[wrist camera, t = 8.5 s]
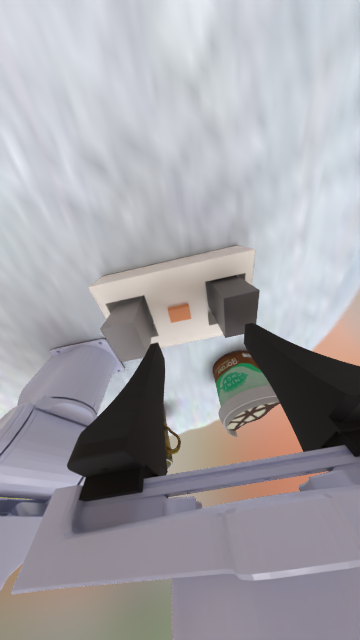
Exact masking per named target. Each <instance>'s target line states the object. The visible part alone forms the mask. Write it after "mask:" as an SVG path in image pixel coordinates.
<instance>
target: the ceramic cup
mask: <svg viewBox="0 0 360 640" xmlns="http://www.w3.org/2000/svg"><path fill="white" fill-rule="evenodd" d="M167 429H168V430H169V432H170V433H172V434H173V435H175V436H176V437H177V439H178V445H177V447H176V448H175V449H171V447H170V441H169V436H168V430H167ZM164 430H165V446H166V460H167V469H168V468H170V467H171V466H172V464H173V461H172V454H175V453H177V452H178V451H179V449H180V444H181V441H180V438H179V436H178V435H177V434H176V433H174V432H173V431H171V429H170V428H169V427H167V423H166V416H165V410H164Z"/></svg>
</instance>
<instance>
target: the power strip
mask: <svg viewBox="0 0 360 640" xmlns="http://www.w3.org/2000/svg"><path fill="white" fill-rule="evenodd" d="M254 256H255V249H251V248H247V247H243V246H238V245H237V246H233V247H228V248H224V249H220V250H215V251H211V252H206V253H202V254H198V255H193V256H189V257H185V258H180V259H176V260H171V261H167V262H163V263H158V264H154V265H150V266H145V267H141V268H136V269H132V270H128V271H123V272H119V273H115V274H110V275H106V276H102V277H101V278H99V279H98V280H97V281H95V282H94V283H93V284H91V285H90V286H89V287H88V289H89V290H90V292H91V294H92V296H93V297H94V299H95V301H96V302H97V304H98V306H99V308H100V309H101V311H102V313H103V315H104V316H105V318H106V320H107V318H108V317H109V315H110V314H111V312H112V311H113V309H114V307H115V306H116V304H117V303H118V301H120V300H125V299H129V298H134V297H138V296H143V295H144V296H145V299H146V302H147V304H148V307H149V310H150V313H151V315H152V318H153V321H154V322H153V330H152V337H151V344H152V343H157V342H158V343H159V346H160V348H163V347H168V346H173V345H178V344H183V343H187V342H192V341H197V340H202V339H207V338H212V337H217V336H222V335H224V334H223V333H222V331H221V329H220V327H219V325H218V323H217V321H216V320H215V318H214V316H213V314H212V312H211V310H210V308H209V307H208V300H207V291H206V281H211V280H215V279H220V278H224V277H229V276H234V275H237V276H239V277H240V278H242V279H243V280H245V281H246V282H248V283H249V284H251V285H252V280H253V268H254Z"/></svg>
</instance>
